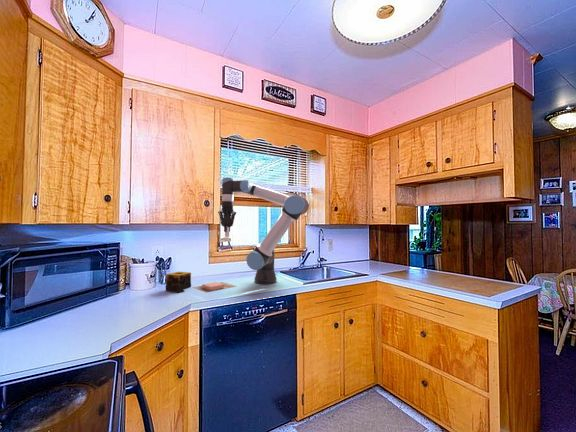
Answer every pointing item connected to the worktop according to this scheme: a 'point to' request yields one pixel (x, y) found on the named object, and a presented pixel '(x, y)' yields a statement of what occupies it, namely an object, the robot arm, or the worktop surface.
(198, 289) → the board
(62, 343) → the worktop surface
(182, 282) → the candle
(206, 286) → the tile
